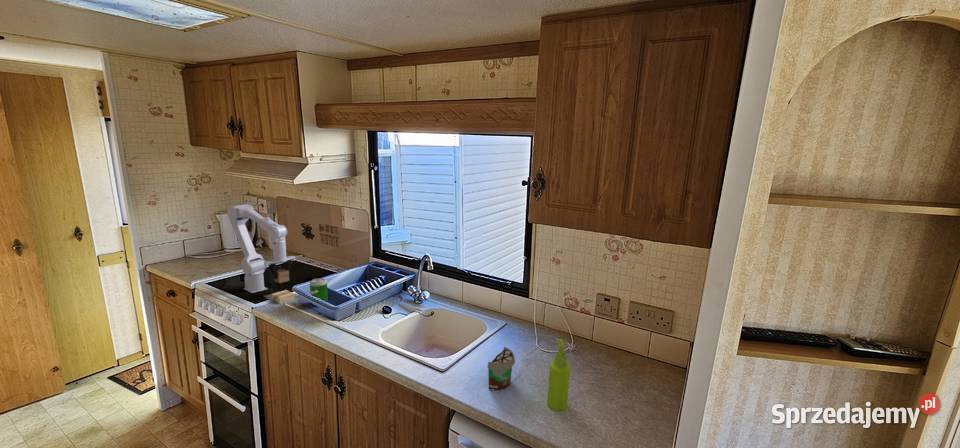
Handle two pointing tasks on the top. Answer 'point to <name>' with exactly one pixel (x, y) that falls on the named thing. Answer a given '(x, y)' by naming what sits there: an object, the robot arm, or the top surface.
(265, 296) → the rubber mat
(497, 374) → the food container
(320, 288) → the soda can
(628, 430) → the top surface
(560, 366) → the soap dispenser
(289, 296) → the pedestal
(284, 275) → the walnut cube
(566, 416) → the top surface
